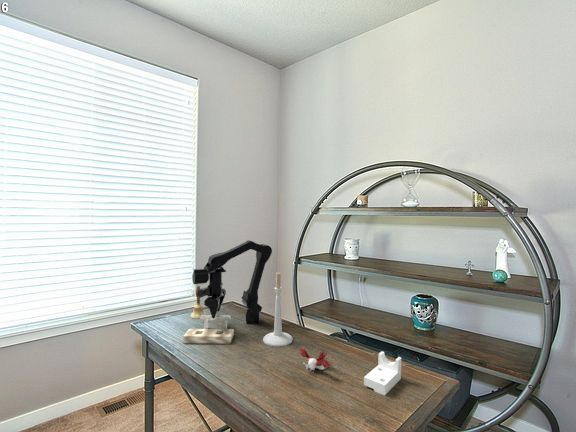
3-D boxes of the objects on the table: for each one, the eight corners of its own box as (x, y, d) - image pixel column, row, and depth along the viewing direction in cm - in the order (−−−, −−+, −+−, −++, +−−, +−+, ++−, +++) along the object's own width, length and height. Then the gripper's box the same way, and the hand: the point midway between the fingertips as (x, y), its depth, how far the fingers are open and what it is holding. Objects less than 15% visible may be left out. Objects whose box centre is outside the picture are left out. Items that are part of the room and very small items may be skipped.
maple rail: (233, 335, 144) (233, 329, 144) (230, 343, 136) (230, 336, 136) (189, 335, 144) (189, 328, 144) (183, 343, 136) (183, 336, 136)
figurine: (343, 371, 115) (343, 352, 114) (321, 383, 107) (322, 363, 106) (312, 356, 126) (313, 339, 125) (291, 366, 118) (291, 348, 117)
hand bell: (209, 315, 171) (209, 285, 170) (197, 319, 164) (197, 288, 163) (198, 312, 175) (198, 283, 174) (186, 316, 168) (186, 286, 167)
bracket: (381, 372, 114) (381, 351, 114) (400, 379, 110) (401, 357, 110) (363, 387, 105) (364, 365, 104) (384, 396, 100) (385, 372, 100)
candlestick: (259, 344, 135) (259, 274, 134) (268, 332, 148) (268, 268, 147) (288, 348, 132) (289, 275, 131) (295, 335, 145) (295, 269, 144)
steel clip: (230, 327, 153) (230, 315, 153) (229, 329, 151) (229, 317, 151) (201, 327, 153) (201, 314, 153) (200, 329, 151) (200, 316, 151)
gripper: (203, 277, 161) (203, 308, 161) (192, 287, 142) (192, 321, 143) (226, 277, 161) (226, 308, 161) (217, 287, 142) (217, 321, 143)
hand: (215, 314), depth 152 cm, fingers open, 9 cm apart
